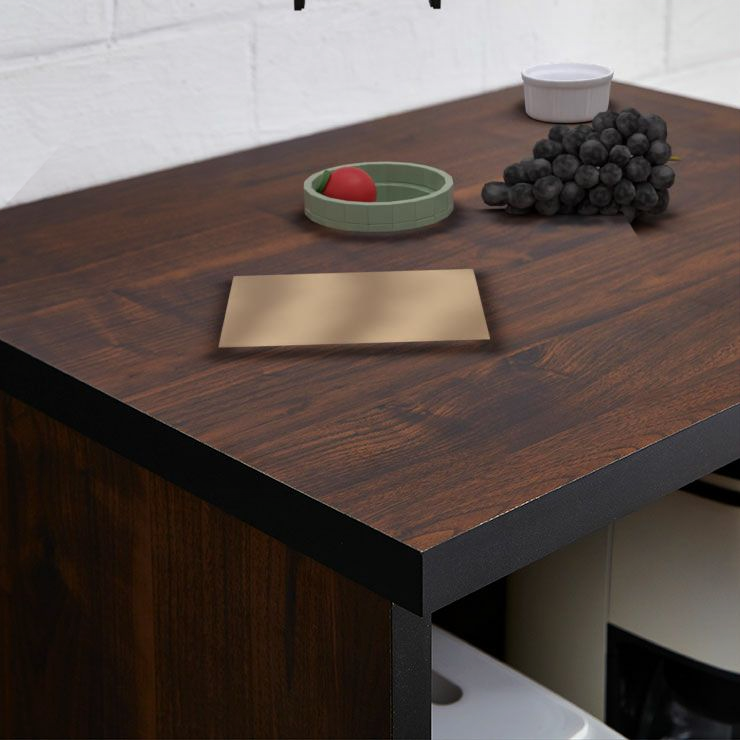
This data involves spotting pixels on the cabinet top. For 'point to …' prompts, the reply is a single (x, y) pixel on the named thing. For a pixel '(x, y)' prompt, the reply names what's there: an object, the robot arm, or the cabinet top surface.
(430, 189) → the bowl
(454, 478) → the cabinet top surface
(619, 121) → the fruit
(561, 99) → the ramekin
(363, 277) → the serving board
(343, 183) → the tomato
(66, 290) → the cabinet top surface
